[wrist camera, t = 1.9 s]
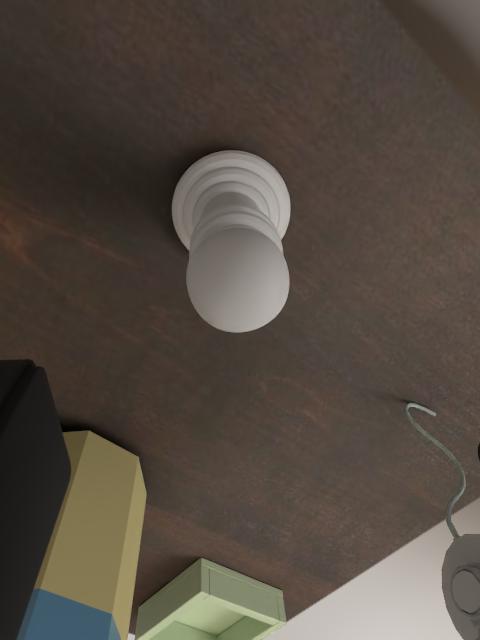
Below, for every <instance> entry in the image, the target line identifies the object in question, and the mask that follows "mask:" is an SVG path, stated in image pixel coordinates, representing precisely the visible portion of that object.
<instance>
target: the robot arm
mask: <svg viewBox="0 0 480 640" xmlns="http://www.w3.org/2000/svg"><path fill="white" fill-rule="evenodd" d="M478 457H479V460H480V444H479V447H478ZM70 477H71V462H70V458H69V455H68V451H67V448H66V444H65V440H64V437H63V433H62V430H61V426H60V422H59V419H58V415H57V411H56V408H55V404H54V401H53V397H52V393H51V390H50V386H49V383H48V379H47V375H46V372H45V370H44V368H43V367H36V365H35V363H34V362H33V361H32V360H30V359H26V360H0V640H17V637H18V634H19V631H20V628H21V625H22V622H23V619H24V616H25V613H26V610H27V607H28V604H29V601H30V598H31V595H32V592H33V589H34V586H35V583H36V580H37V577H38V574H39V571H40V568H41V565H42V562H43V559H44V556H45V554H46V551H47V548H48V545H49V542H50V539H51V536H52V533H53V530H54V527H55V524H56V521H57V518H58V515H59V512H60V509H61V506H62V503H63V500H64V497H65V494H66V491H67V488H68V485H69V482H70Z"/></svg>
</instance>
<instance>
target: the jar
mask: <svg viewBox="0 0 480 640" xmlns="http://www.w3.org/2000/svg"><path fill="white" fill-rule="evenodd" d="M62 433H63V437H64V440H65V444H66V448H67V451H68V455H69V458H70V462H71V477H70V482H69V485H68V488H67V491H66V494H65V497H64V500H63V503H62V506H61V509H60V512H59V515H58V518H57V521H56V524H55V527H54V530H53V533H52V536H51V539H50V542H49V545H48V548H47V551H46V554H45V556H44V559H43V562H42V565H41V568H40V571H39V574H38V577H37V580H36V583H35V586H34V589H33V592H32V595H31V598H30V601H29V604H28V607H27V610H26V613H25V616H24V619H23V622H22V625H21V628H20V631H19V634H18V637H17V640H127V638H128V631H129V623H130V616H131V608H132V601H133V593H134V586H135V578H136V571H137V563H138V556H139V548H140V541H141V533H142V526H143V518H144V511H145V503H146V496H147V493H146V489H145V484H144V480H143V475H142V471H141V466H140V462H139V457H138V456H136V455H134V454H132V453H130V452H128V451H126V450H124V449H123V448H121V447H119V446H117V445H115V444H113V443H111V442H110V441H108V440H106V439H104V438H102V437H100V436H98V435H96V434H95V433H93V432H91V431H75V432H62Z"/></svg>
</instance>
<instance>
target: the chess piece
mask: <svg viewBox="0 0 480 640" xmlns="http://www.w3.org/2000/svg"><path fill="white" fill-rule="evenodd" d="M172 218H173V223H174V227H175V230H176V232H177V234H178V236H179V238H180V240H181V241H182V243H183V244H184V245H185V247H186V248H187V249H188V250H189V263H188V267H187V274H186V281H187V289H188V293H189V297H190V299H191V302H192V304H193V306H194V308H195V309H196V311H197V312H198V314H199V315H200V316H201V317H202V318H203V319H204V320H205V321H206V322H207V323H209V324H210V325H212V326H213V327H215V328H217V329H220V330H223V331H228V332H247V331H251V330H255V329H257V328H260V327H262V326H264V325H265V324H267V323H268V322H270V321H271V320H272V319H274V318H275V317H276V316H277V315H278V313H279V312H280V311H281V309H282V308H283V306H284V304H285V302H286V299H287V296H288V292H289V272H288V267H287V264H286V261H285V259H284V256H283V247H282V243H281V240H282V238H283V236H284V234H285V232H286V229H287V226H288V223H289V219H290V198H289V193H288V190H287V187H286V185H285V183H284V181H283V179H282V177H281V176H280V174H279V173H278V172H277V171H276V170H275V168H274V167H272V166H271V165H270V164H269V163H268V162H266V161H265V160H264V159H262V158H260V157H258V156H256V155H254V154H251V153H248V152H243V151H237V150H227V151H220V152H216V153H212V154H210V155H207V156H205V157H203V158H201V159H200V160H198V161H197V162H195V163H194V164H193V165H192V166H191V167H190V168H189V169H188V170H187V171H186V172H185V173H184V174H183V176H182V177H181V179H180V180H179V182H178V184H177V186H176V189H175V191H174V195H173V200H172Z"/></svg>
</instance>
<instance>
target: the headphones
mask: <svg viewBox="0 0 480 640" xmlns="http://www.w3.org/2000/svg"><path fill="white" fill-rule="evenodd" d="M411 406H412V407H416V408H419V409H421V410H424V411H426V412H428V413H429V414H431V415H433V416H436V413H434V412H432V411H431V410H429V409H427V408H425V407H423V406H420V405H418V404H414V403H410V404H406V406H405V408H404V410H405V414H406V416H407V418H408V420H409V421H410V422H411V423H412V424H413V425H414V426H415V427H416V428H417V429H418V430H419V431H420V432H421V433H423V434H424V435H425V436H426V437H428V438H429V439H430V440H431V441H432V442H434V443H435V444H436V445H437V446H439V447H440V448H441V449H442V450H443V451H444V452H445V453H446V454H447V455H448V456H449V457H450V458H451V459H452V460H453V462H454V463H455V464H456V466H457V468H458V471H459V473H460V479H461V484H460V487H459V490H458V492H457V493H456V495H455V496H454V497H453V498H452V499H451V501H450V502H449V504H448V506H447V509H446V511H445V512H446V522H447V524H448V527H449V529H450V531H451V533H452V535H453V537H454V539H453V540H454V541H453V543H452V544H451V546H450V547H449V549H448V550H447V551H446V554H445V558H444V562H443V566H442V590H443V594H444V598H445V603H446V607H447V610H448V612H449V615H450V617H451V619H452V621H453V624H454V626H455V628H456V630H457V631H458V632H459V634H460V635H461V637H462V638H463V639H464V640H480V534H465V535H463V536H461V537H460V536H459V535H458V533H457V531H456V529H455V528H454V526H453V524H452V522H451V509H452V507H453V505H454V504H455V502H456V501H457V500H458V499H459V497H460V496H461V495H462V493H463V491H464V489H465V483H466V481H465V476H464V472H463V470H462V468H461V466H460V464H459V462H458V461H457V459H456V458H455V456H454V455H453V454H452V453H451V452H450V451H449V450H447V449H446V448H445V447H444V446H443V445H442V444H441V443H440V442H438V441H437V440H436V439H435V438H433V437H432V436H431V435H430V434H428V433H427V432H426V431H425V430H423V429H422V428H421V427H420V426H419V425H418V424H417V423H416V422H415V421H414V420H413V419H412V418H411V416H410V414H409V412H408V408H409V407H411Z"/></svg>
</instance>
